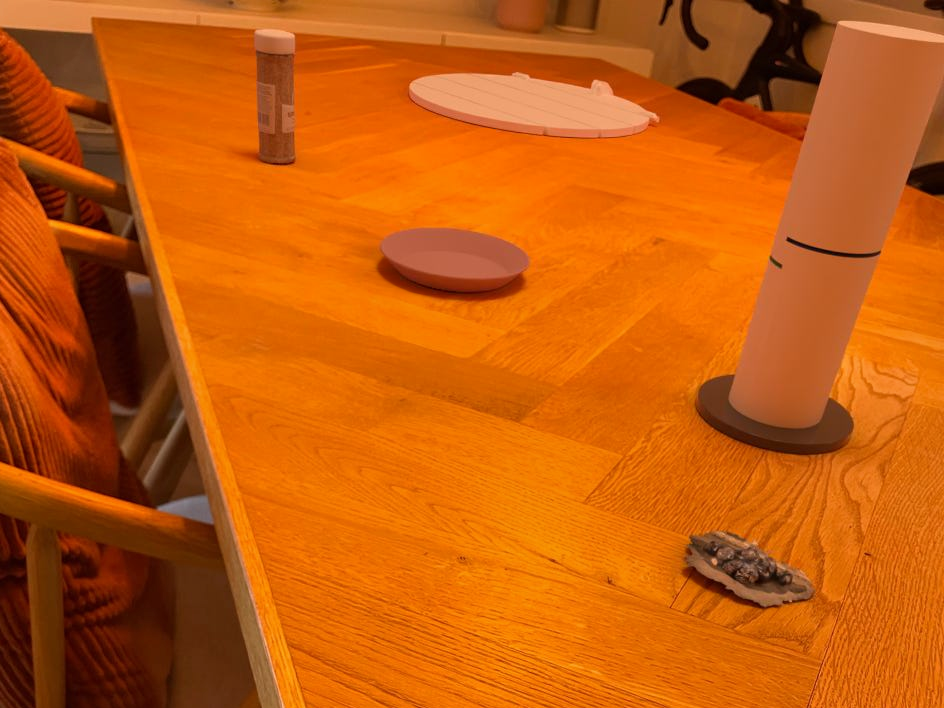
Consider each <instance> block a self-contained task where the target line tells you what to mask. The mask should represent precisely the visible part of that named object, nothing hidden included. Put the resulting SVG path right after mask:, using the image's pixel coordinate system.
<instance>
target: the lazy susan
mask: <svg viewBox="0 0 944 708" xmlns="http://www.w3.org/2000/svg"><path fill="white" fill-rule="evenodd" d="M408 90H409V91H408V96H409V98H410V99H411V100H412V101H413V102H414V103H415V104H417V105H418V106H420V107H422V108H424V109H425V110H429V111H430V112H433V113H436V114H439V115H441V116H444V117H447V118H450V119H453V120H456V121H461V122H465V123H469V124H474V125H478V126H481V127H482V126H483V127H487V128H492V129H498V130H502V131H503V130H504V131H510V132H516V133H522V134H529V135H539V136H543V135H544V136H548V137H560V138H577V139H578V138H584V139H589V138H590V139H598V138H602V139H604V138H618V137H625V136H632V135H635V134H639V133H641V132H644V131H645V130H647V128H648V126H649V123H650V121H651V122H654V123H659V121H660V119H661V118H660V116H659V115H657V113H656V112H652V111H649V110H646V109H645V108H644V107H642V106H641V105H638V103H635V102H632V101H630V100H628V99H625V98H622V97H619V96H617V95H614V91H613V89H612V87H611V86H610V84H609V83H608V82H607V81H603V80H599V79H594V80H593V81H592V83H591V86H590V88H588V87H584V86H578V85H574V84H569V83H564V82H558V81H552V80H547V79H539V78H532V77H531V76H530V75H529V74H526V73H522V72H520V71H519V72H518V71H516V72H514V73H511V75H505V74H489V73H488V74H487V73H442V74H441V73H440V74H433V75H426V76H422V77H419V78H416V79H414V80H412V81H411V82H410V84H409V89H408Z"/></svg>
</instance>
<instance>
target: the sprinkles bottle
mask: <svg viewBox="0 0 944 708" xmlns="http://www.w3.org/2000/svg"><path fill="white" fill-rule="evenodd" d="M253 40H254V41H253V42H254V43H253V44H254V50H255V56H256V108H257V109H256V110H257V113H256V114H257V129H258V153H257V157H258V159H259V160H261V161H262V162H265V163H269V164H273V163H279V164H278V165H285V164H284V163H287V164H291V163H294V162H295V161H296V159H297V157H296V150H295V143H296V142H295V131H296V118H295V117H296V115H295V114H296V113H295V112H296V111H295V76H294V75H295V74H294V72H295V69H294V65H295V64H294V63H295V62H294V61H295V59H294V58H295V53H296V35H295V34H294V33H292V32H289V31H286V30H280V29H271V28H270V29H267V28H265V29H264V28H263V29H262V28H261V29H257V30H255V31H254V39H253ZM290 162H291V163H290ZM280 163H281V164H280Z"/></svg>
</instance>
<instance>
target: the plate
mask: <svg viewBox="0 0 944 708" xmlns="http://www.w3.org/2000/svg"><path fill="white" fill-rule="evenodd" d="M379 249H380V252H381V254H382V255H383V256H384V257H385V258H386V259H387V260H388V262H389V263H390V264H391V265H392V266H393V267H394V268H395V269H396V271H397V272H398V273H399V274H400V275H402V276H403V277H404V276H405V277H404V278H405V279H407V278H408V279H407V280H409V279H410V280H409V281H411V280H412V281H411V282H413V281H414V282H413V283H415V282H417V283H416V284H418V283H420V284H422V285H421V286H423V285H425V286H424V287H427V286H429V287H428V288H430V287H433V288H432V289H434V288H436V290H439V289H441V290H440V291H445V290H447V291H446V292H453V291H456V292H455V293H482V292H483V293H484V292H491V291H494V290H497V289H500V288H502V287H504V286H506V285H507V284H509V283H510V282H512V281H513V280H514V279H516V278H517V277H519V276H520V275H522V274H523V273H524V272H525V271H526V270H527V269H528V268H529V267H530V264H531V259H530V256H529V255H528V254H527V252H525V250H523V248H521V247H519V246H518V245H516V244H514V243H513V242H510V241H508V240H505V239H503V238H499V237H498V236H494V235H490V234H486V233H483V232H478V231H473V230H468V229H467V230H466V229H460V228H449V227H417V228H416V227H415V228H408V229H403V230H399V231H396V232H393V233H390V234H388V235H387V236H385V237H384V238H383V239H382V240H381V241H380V243H379ZM420 284H419V285H420Z"/></svg>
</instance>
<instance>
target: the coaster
mask: <svg viewBox="0 0 944 708" xmlns="http://www.w3.org/2000/svg"><path fill="white" fill-rule="evenodd" d="M735 374H736V373H734V374H732V373H731V374H725V375H720V376H719V375H718V376H715V377H713V378H710V379H708V380H706V381H705V382H703V383H702V384H701V385H700V386H699V388H698V390H697V393H696V398H695V407H696V410H697V412H698V413H699V415H700V416H701V418H703V419H704V421H706V422H707V423H708V424H709V425H710V426H712V427H713V428H714V429H716V430H718V431H719V432H721V433H723V434H725V435H727V436H729V437H730V438H733V439H735V440H737V441H740V442H743V443H745V444H749V445H751V446H755V447H758V448H761V449H766V450H771V451H774V452H781V453H787V454H800V455H811V454H812V455H816V454H825V453H830V452H833V451H836V450H839V449H841V448H843V447H844V446H845V445H847V443H848V442H849V441H850V440H851V437H852V434H853V431H854V428H855V422H854V418H853V417H852V415H851V413H850V412H849V411H848V410H847V409H846V407H844V406H843V405H842V404H841V403H839V402H838V401H836V400H835V399H833V398H832V397H830V396H829V398H828V401H827V404H826V407H825V410H824V413H823V415H822V418H821V420H820V422H819V423H817V424H816V425H814V426H811V427H807V428H797V429H795V428H782V427H776V426H771V425H767V424H764V423H761V422H758V421H755V420H753V419H750V418H748V417H746V416H744V415H743V414H741V413H740V412H738V411H737V410H736V409H734V408H733V407H732V405H731V404H730V402H729V394H730V391H731V387H732V384H733V381H734V377H735Z"/></svg>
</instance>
